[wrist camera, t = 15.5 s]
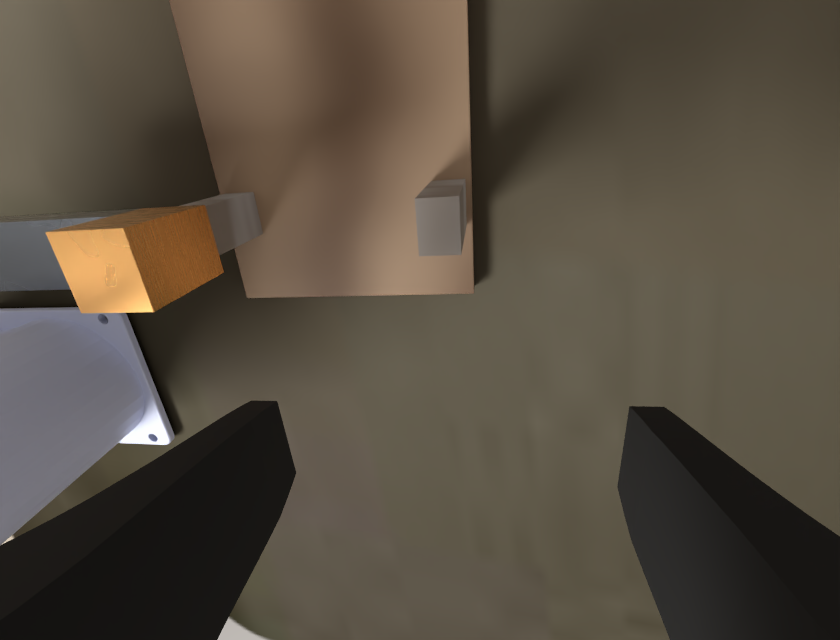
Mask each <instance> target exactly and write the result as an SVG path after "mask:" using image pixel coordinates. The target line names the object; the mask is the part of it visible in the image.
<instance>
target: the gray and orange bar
mask: <svg viewBox="0 0 840 640" xmlns="http://www.w3.org/2000/svg"><path fill="white" fill-rule="evenodd" d="M222 273H224V271H223V267H222V264H221V260H220V256H219V253H218V249H217V246H216V242H215V238H214V235H213V231H212V228H211V224H210V220H209V217H208V213H207V210H206V206H205V205H192V206H175V207H158V208H141V209H124V210H107V211H90V212H73V213H56V214H39V215H22V216H5V217H0V291H29V290H68V289H71V291H72V294H73V296H74V298H75V300H76V303H77V305H78V307H79V309H80V312H81V313H136V312H155V311H157V310H159V309H160V308H162V307H164V306H166V305H167V304H169V303H171V302H173V301H174V300H176V299H178V298H180V297H181V296H183V295H185V294H187V293H189V292H190V291H192V290H194V289H196V288H197V287H199V286H201V285H203V284H204V283H206V282H208V281H210V280H211V279H213V278H215V277H217V276H219V275H220V274H222Z"/></svg>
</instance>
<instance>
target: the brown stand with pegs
mask: <svg viewBox="0 0 840 640" xmlns="http://www.w3.org/2000/svg"><path fill="white" fill-rule="evenodd" d="M169 2H170V6H171V9H172V13H173V17H174V21H175V25H176V28H177V32H178V36H179V40H180V44H181V48H182V51H183V55H184V59H185V63H186V67H187V70H188V74H189V78H190V82H191V86H192V90H193V93H194V97H195V101H196V105H197V109H198V112H199V116H200V120H201V124H202V128H203V132H204V135H205V139H206V143H207V147H208V151H209V154H210V158H211V162H212V166H213V170H214V174H215V177H216V181H217V185H218V189H219V193H220V195H218V196H214V197H211V198H207V199H203V200H199V201H196V202H192V203H188V204H184V205H181V206H192V205H205V206H206V210H207V213H208V217H209V220H210V224H211V228H212V231H213V235H214V238H215V242H216V246H217V249H218V253H219V255H221V254H223V253H225V252H227V251H229V250H231V249H233V248H234V250H235V254H236V258H237V261H238V265H239V269H240V273H241V277H242V280H243V284H244V288H245V292H246V296H247V298H276V297H325V296H374V295H424V294H473V293H474V252H473V208H472V165H471V121H470V77H469V34H468V0H169Z"/></svg>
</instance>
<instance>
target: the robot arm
mask: <svg viewBox="0 0 840 640" xmlns="http://www.w3.org/2000/svg"><path fill="white" fill-rule="evenodd" d="M105 316H106V317H107V318H106V317H105ZM173 439H174V433H173V430H172V428H171V425H170V423H169V420H168V418H167V415H166V412H165V410H164V407H163V405H162V402H161V400H160V397H159V395H158V392H157V390H156V387H155V385H154V382H153V380H152V377H151V375H150V372H149V369H148V367H147V364H146V362H145V359H144V357H143V354H142V352H141V349H140V347H139V344H138V342H137V339H136V337H135V334H134V331H133V329H132V326H131V324H130V321H129V319H128V316H127V314H126V313H81V312H80V309H79V307H59V308H3V309H0V640H217V639H218V637H219V635H220V633H221V631H222V629H223V627H224V625H225V623H226V621H227V619H228V617H229V615H230V613H231V611H232V609H233V608H234V606H235V604H236V602H237V600H238V598H239V596H240V594H241V592H242V590H243V588H244V586H245V585H246V583H247V581H248V579H249V577H250V575H251V573H252V571H253V569H254V567H255V565H256V563H257V562H258V560H259V558H260V556H261V554H262V552H263V550H264V548H265V546H266V544H267V542H268V540H269V538H270V536H271V534H272V532H273V530H274V528H275V526H276V524H277V522H278V520H279V518H280V516H281V513H282V511H283V508H284V505H285V503H286V500H287V498H288V495H289V492H290V489H291V486H292V483H293V480H294V478H295V475H296V470H295V467H294V463H293V459H292V455H291V452H290V448H289V444H288V440H287V437H286V433H285V429H284V425H283V422H282V418H281V414H280V410H279V407H278V403H277V401H250V402H248V403H246V404H244V405H242V406H240V407H239V408H237V409H235V410H234V411H232V412H230V413H228V414H227V415H225V416H224V417H222V418H220V419H219V420H217V421H215V422H214V423H212V424H211V425H209V426H208V427H206V428H204V429H203V430H201V431H200V432H198V433H196V434H195V435H193V436H192V437H190V438H189V439H187V440H185V441H184V442H182V443H181V444H179V445H177V446H176V447H174V448H173V449H171V450H169V451H168V452H166V453H165V454H163V455H162V456H160V457H158V458H157V459H155V460H154V461H152V462H150V463H149V464H147V465H145V466H144V467H142V468H140V469H139V470H137V471H135V472H134V473H132V474H130V475H128V476H127V477H125V478H123V479H122V480H120V481H118V482H117V483H115V484H113V485H112V486H110V487H108V488H106V489H105V490H103V491H101V492H100V493H98V494H96V495H95V496H93V497H91V498H90V499H88V500H86V501H84V502H82V503H81V504H79V505H77V506H75V507H73V508H72V509H70V510H68V511H66V512H64V513H62V514H60V515H59V516H57V517H55V518H53V519H51V520H49V521H47V522H45V523H43V524H41V525H40V526H38V527H36V528H34V529H32V530H30V531H28V532H26V533H24V534H22V535H20V536H18V537H16V538H14V539H12V540H11V541H8V542H6V543H4V544H3V545H1V544H2V543H3V542H4V541H6V540H7V539H8V538H9V537H10V536H11V535H13V534H14V533H15V532H16V531H17V530H18V529H20V528H21V527H22V526H23V525H24V524H25V523H26V522H28V521H29V520H30V519H31V518H32V517H33V516H34V515H36V514H37V513H38V512H39V511H40V510H41V509H43V508H44V507H45V506H46V505H47V504H48V503H49V502H51V501H52V500H53V499H54V498H55V497H56V496H58V495H59V494H60V493H61V492H62V491H63V490H64V489H66V488H67V487H68V486H69V485H70V484H71V483H72V482H74V481H75V480H76V479H77V478H78V477H79V476H81V475H82V474H83V473H84V472H85V471H86V470H87V469H89V468H90V467H91V466H92V465H93V464H94V463H96V462H97V461H98V460H99V459H100V458H101V457H102V456H104V455H105V454H106V453H107V452H108V451H109V450H110V449H112V448H113V447H114V446H115V445H116V444H117V443H133V444H158V445H167V444H169V443H170V442H171V441H172V440H173ZM618 491H619V495H620V499H621V503H622V507H623V511H624V515H625V519H626V522H627V526H628V530H629V533H630V537H631V540H632V543H633V546H634V548H635V551H636V554H637V556H638V559H639V561H640V564H641V566H642V569H643V572H644V574H645V577H646V579H647V582H648V585H649V587H650V590H651V592H652V595H653V597H654V600H655V602H656V605H657V607H658V610H659V612H660V615H661V618H662V620H663V623H664V625H665V628H666V630H667V633H668V635H669V638H670V640H840V537H839V536H838V535H836V534H835V533H834V532H832V531H831V530H829V529H828V528H826V527H825V526H823V525H822V524H820V523H819V522H818V521H816V520H815V519H813V518H812V517H810V516H809V515H807V514H806V513H805V512H803V511H802V510H800V509H799V508H798V507H796V506H795V505H794V504H792V503H791V502H789V501H788V500H787V499H785V498H784V497H782V496H781V495H780V494H778V493H777V492H776V491H774V490H773V489H772V488H770V487H769V486H767V485H766V484H765V483H763V482H762V481H761V480H759V479H758V478H757V477H755V476H754V475H753V474H751V473H750V472H749V471H747V470H746V469H745V468H743V467H742V466H741V465H740V464H738V463H737V462H736V461H734V460H733V459H732V458H730V457H729V456H728V455H726V454H725V453H724V452H723V451H721V450H720V449H719V448H717V447H716V446H715V445H714V444H712V443H711V442H710V441H708V440H707V439H706V438H705V437H703V436H702V435H701V434H699V433H698V432H697V431H696V430H694V429H693V428H692V427H690V426H689V425H688V424H687V423H685V422H684V421H683V420H681V419H680V418H679V417H677V416H676V415H675V414H673V413H672V412H671V411H669V410H668V409H666V408H665V407H636V406H629V413H628V420H627V427H626V433H625V440H624V447H623V453H622V460H621V467H620V474H619V480H618Z"/></svg>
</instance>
